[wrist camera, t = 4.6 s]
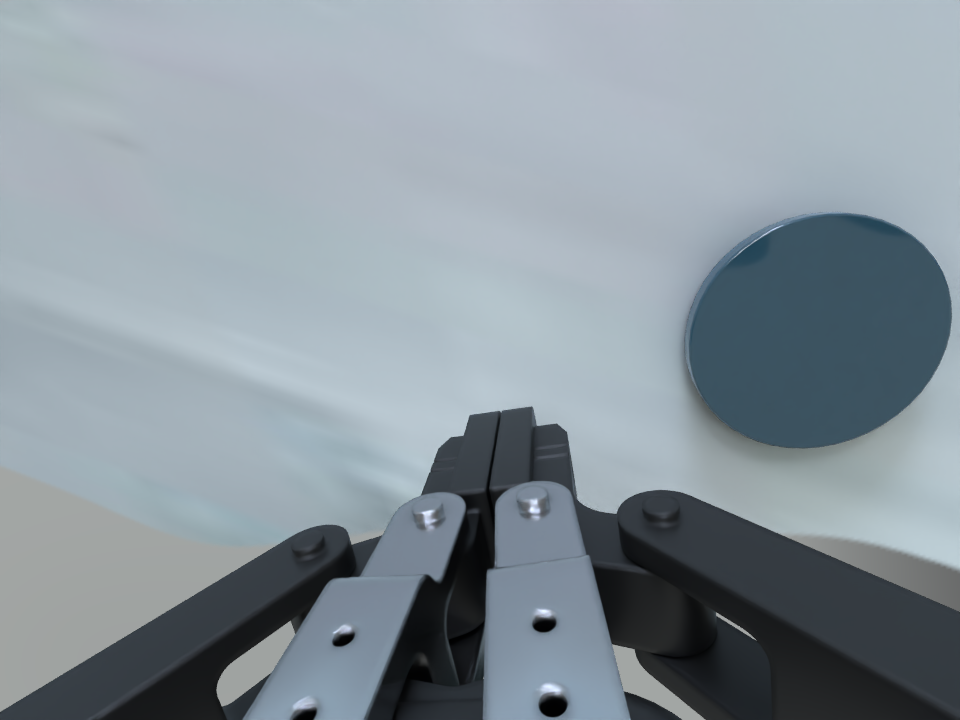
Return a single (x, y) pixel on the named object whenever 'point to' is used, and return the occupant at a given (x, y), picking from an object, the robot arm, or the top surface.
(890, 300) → the plate
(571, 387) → the top surface
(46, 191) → the top surface
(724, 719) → the robot arm
